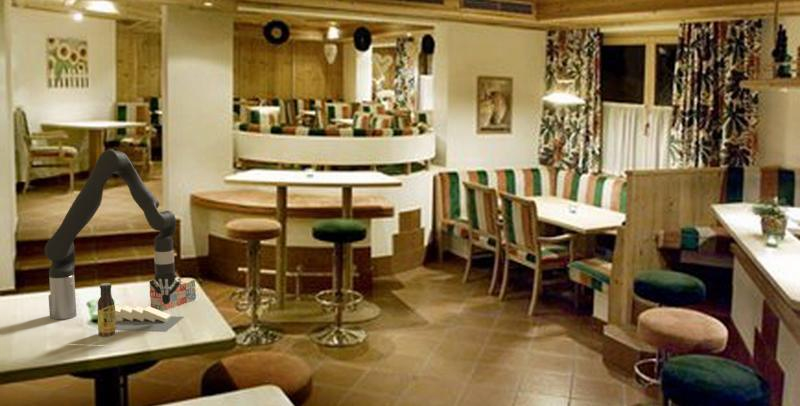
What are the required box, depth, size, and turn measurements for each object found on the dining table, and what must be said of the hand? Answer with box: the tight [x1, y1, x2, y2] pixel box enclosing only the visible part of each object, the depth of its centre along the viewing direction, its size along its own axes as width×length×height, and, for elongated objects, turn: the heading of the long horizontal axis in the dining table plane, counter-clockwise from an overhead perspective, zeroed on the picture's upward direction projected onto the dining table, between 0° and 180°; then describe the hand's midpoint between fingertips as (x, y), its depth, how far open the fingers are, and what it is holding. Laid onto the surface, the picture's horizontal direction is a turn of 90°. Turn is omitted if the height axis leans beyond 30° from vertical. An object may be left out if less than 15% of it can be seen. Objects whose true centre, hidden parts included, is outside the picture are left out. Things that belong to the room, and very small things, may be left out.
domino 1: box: [115, 315, 125, 322], centre depth 307 cm, size 2×5×10 cm
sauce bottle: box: [97, 282, 117, 338], centre depth 287 cm, size 6×6×20 cm
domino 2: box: [115, 304, 135, 321], centre depth 306 cm, size 2×5×10 cm
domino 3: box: [120, 304, 146, 321], centre depth 306 cm, size 2×5×10 cm
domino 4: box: [131, 305, 158, 322], centre depth 306 cm, size 2×5×10 cm
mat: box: [115, 315, 185, 333], centre depth 302 cm, size 25×19×1 cm
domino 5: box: [142, 305, 172, 322], centre depth 305 cm, size 2×5×10 cm
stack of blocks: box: [149, 276, 197, 312], centre depth 327 cm, size 21×6×12 cm, turn 155°
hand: (166, 303), depth 304 cm, fingers closed
